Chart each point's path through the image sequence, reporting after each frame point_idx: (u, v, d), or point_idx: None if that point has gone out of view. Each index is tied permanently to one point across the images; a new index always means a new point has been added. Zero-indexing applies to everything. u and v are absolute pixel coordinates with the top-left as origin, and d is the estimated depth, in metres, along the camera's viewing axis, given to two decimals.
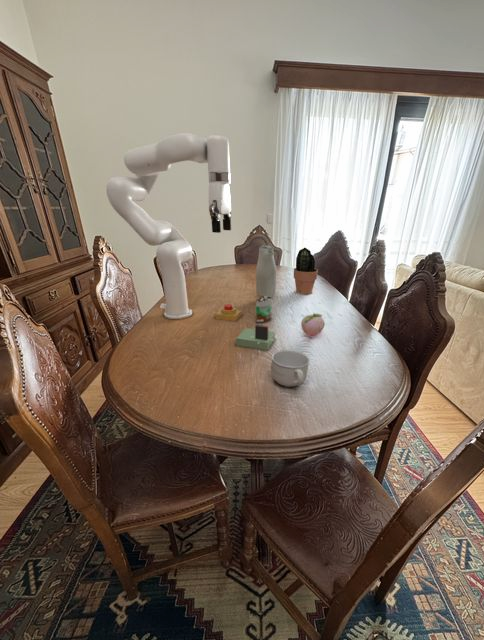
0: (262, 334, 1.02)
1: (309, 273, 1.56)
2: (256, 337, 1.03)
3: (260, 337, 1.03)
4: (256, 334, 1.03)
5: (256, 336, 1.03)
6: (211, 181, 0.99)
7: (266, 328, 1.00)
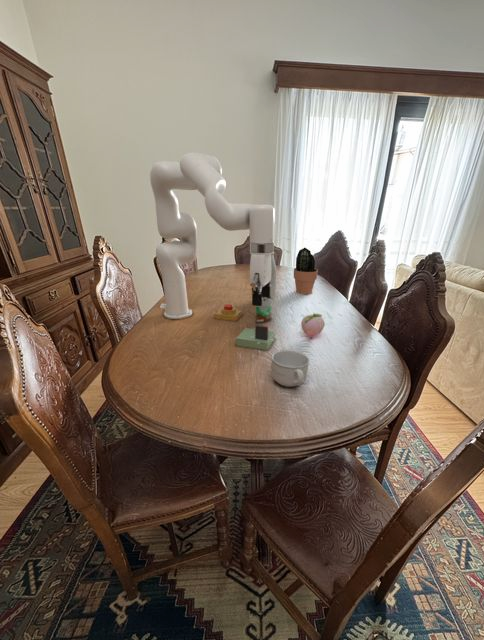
0: (262, 334, 1.02)
1: (309, 273, 1.56)
2: (256, 337, 1.03)
3: (260, 337, 1.03)
4: (256, 334, 1.03)
5: (256, 336, 1.03)
6: (253, 252, 0.88)
7: (266, 328, 1.00)
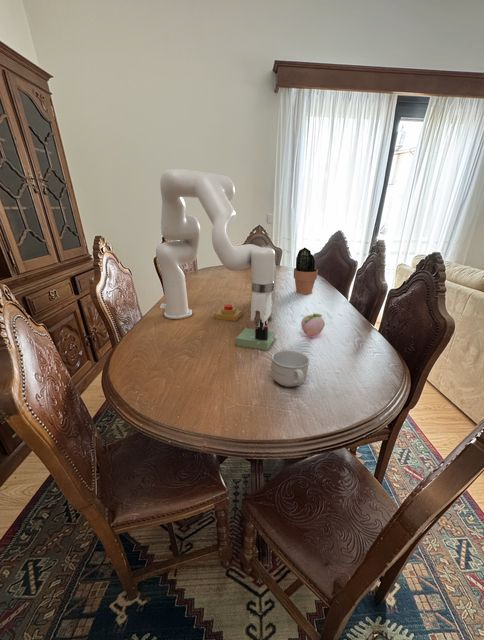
0: None
1: (309, 273, 1.56)
2: None
3: None
4: None
5: None
6: (254, 291, 0.93)
7: (266, 328, 1.00)
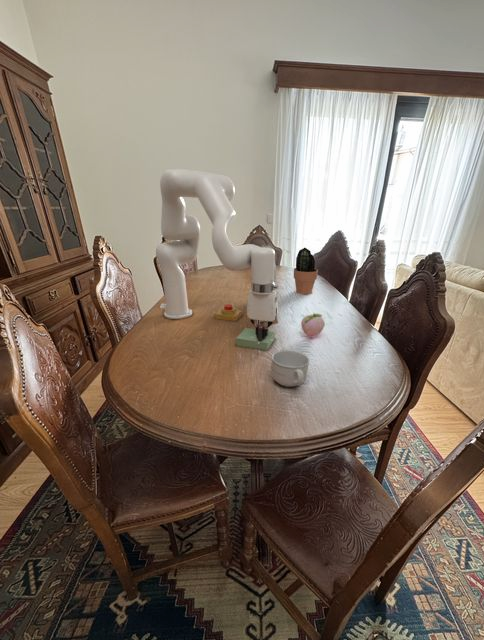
0: None
1: (309, 273, 1.56)
2: None
3: None
4: None
5: None
6: None
7: (258, 328, 1.00)
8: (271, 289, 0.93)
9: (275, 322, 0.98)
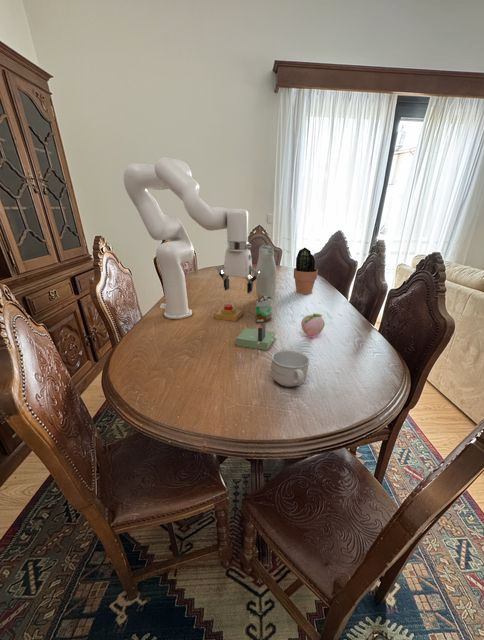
0: None
1: (309, 273, 1.56)
2: None
3: None
4: None
5: None
6: None
7: (258, 328, 1.00)
8: (245, 247, 1.04)
9: (256, 273, 1.08)
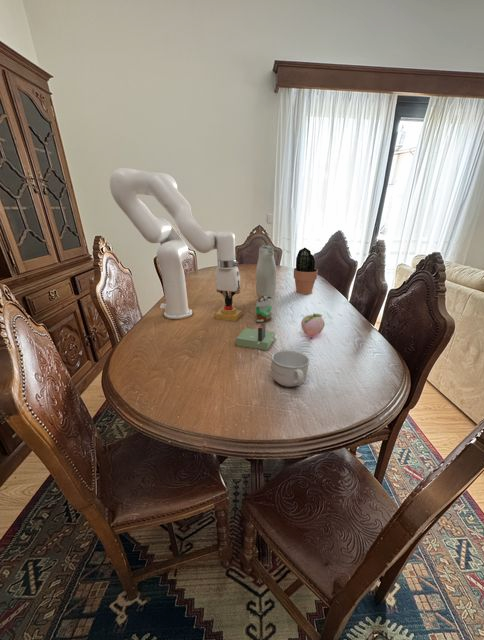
0: None
1: (309, 273, 1.56)
2: None
3: None
4: None
5: None
6: None
7: (258, 328, 1.00)
8: (233, 265, 1.18)
9: (237, 292, 1.24)
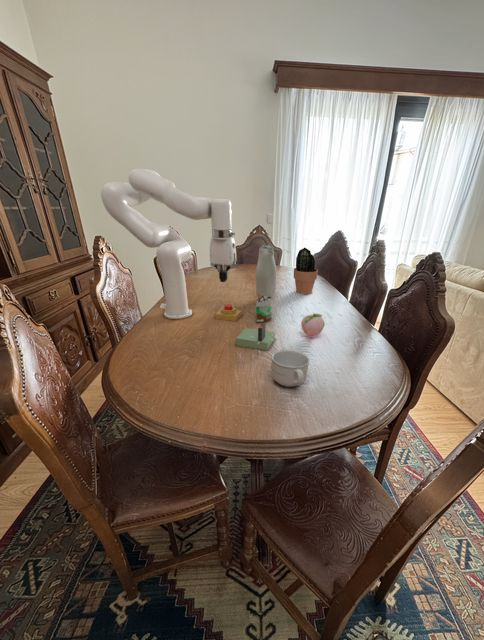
0: None
1: (309, 273, 1.56)
2: None
3: None
4: None
5: None
6: None
7: (258, 328, 1.00)
8: (228, 235, 1.09)
9: (232, 266, 1.15)
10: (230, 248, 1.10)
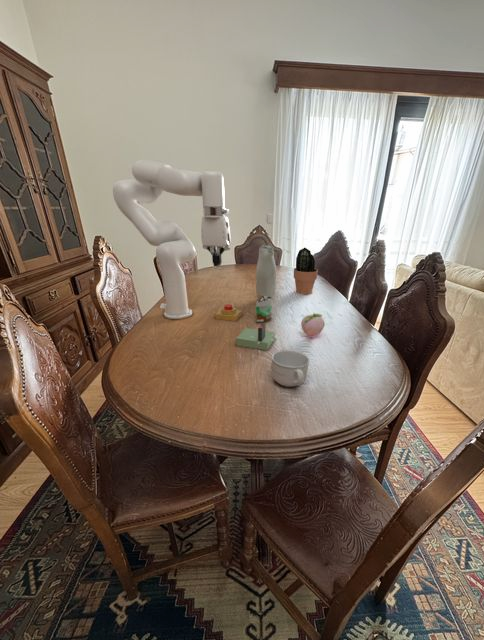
0: None
1: (309, 273, 1.56)
2: None
3: None
4: None
5: None
6: None
7: (258, 328, 1.00)
8: (221, 213, 0.99)
9: (226, 248, 1.05)
10: (223, 227, 1.00)
